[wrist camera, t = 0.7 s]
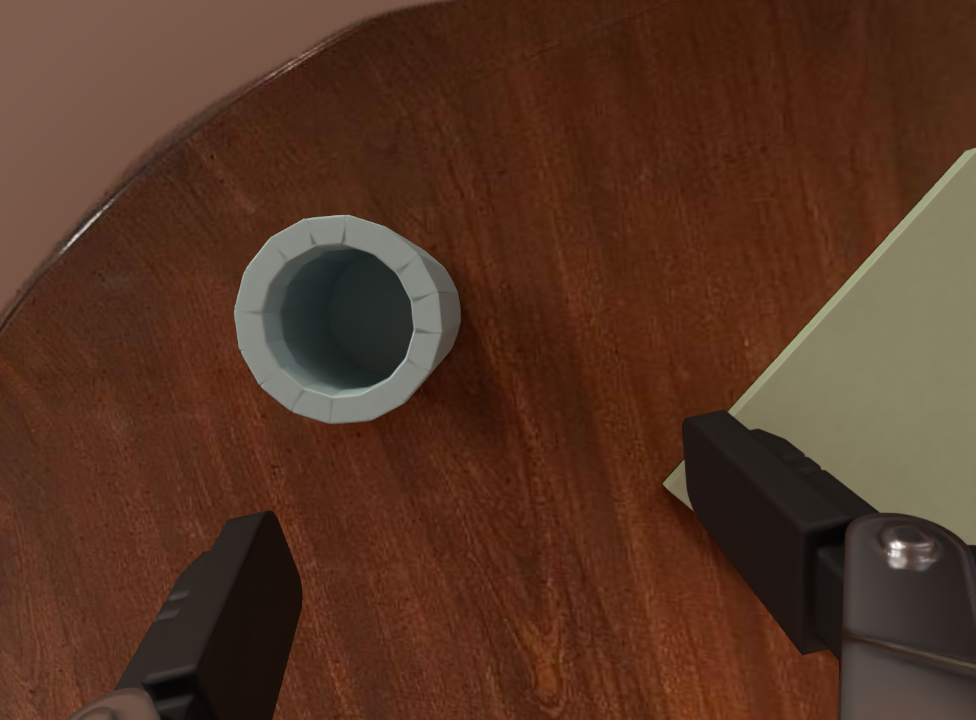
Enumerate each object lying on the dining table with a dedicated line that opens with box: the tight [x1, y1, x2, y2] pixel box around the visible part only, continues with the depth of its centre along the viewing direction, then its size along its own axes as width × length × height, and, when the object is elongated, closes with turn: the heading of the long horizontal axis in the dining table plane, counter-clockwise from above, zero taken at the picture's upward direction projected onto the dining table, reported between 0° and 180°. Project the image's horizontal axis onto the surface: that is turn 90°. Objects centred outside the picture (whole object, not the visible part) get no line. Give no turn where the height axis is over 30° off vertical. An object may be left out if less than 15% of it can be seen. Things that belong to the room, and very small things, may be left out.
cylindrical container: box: [234, 215, 461, 424], centre depth 22 cm, size 6×6×9 cm
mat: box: [663, 148, 976, 545], centre depth 26 cm, size 20×14×1 cm
